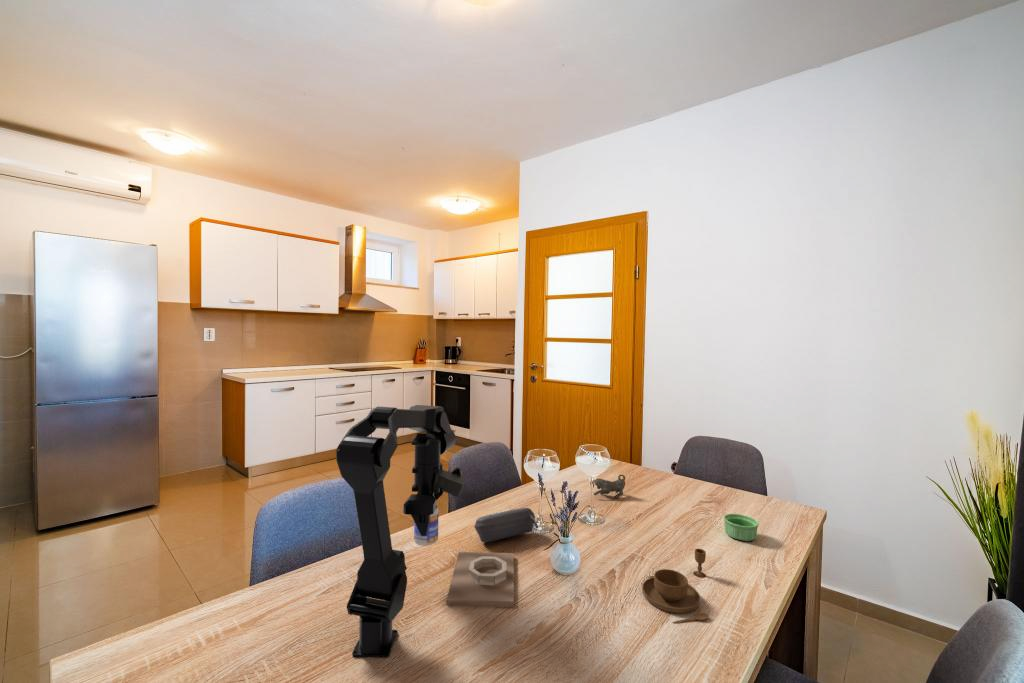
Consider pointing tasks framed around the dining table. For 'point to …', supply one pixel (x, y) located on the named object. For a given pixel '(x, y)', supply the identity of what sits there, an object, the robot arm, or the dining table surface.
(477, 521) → the glasses case
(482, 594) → the socket board
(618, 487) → the dog figurine
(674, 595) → the place setting
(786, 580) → the dining table surface
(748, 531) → the ramekin
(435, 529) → the pill bottle
